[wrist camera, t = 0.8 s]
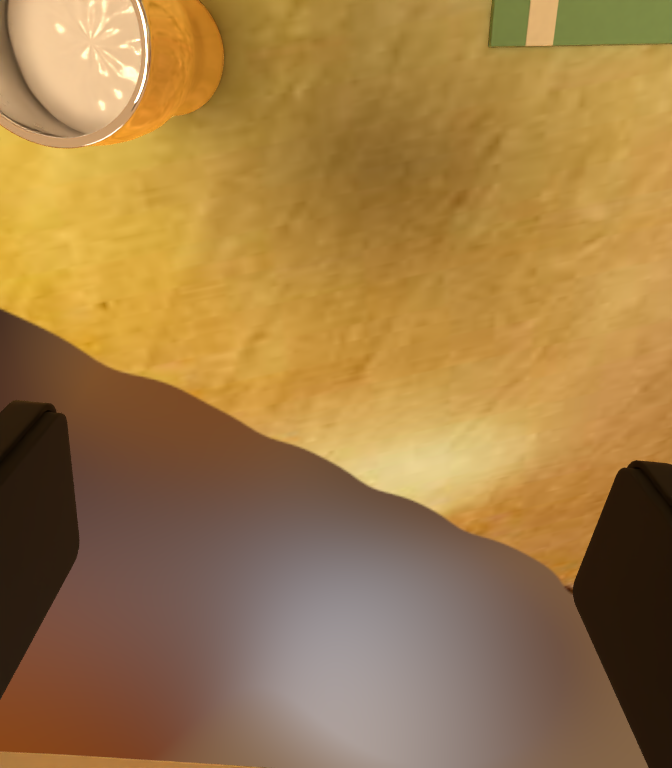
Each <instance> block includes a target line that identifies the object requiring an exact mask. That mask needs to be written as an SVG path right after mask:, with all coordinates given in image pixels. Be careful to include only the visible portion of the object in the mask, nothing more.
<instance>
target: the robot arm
mask: <svg viewBox="0 0 672 768" xmlns="http://www.w3.org/2000/svg"><path fill="white" fill-rule="evenodd" d="M78 549H79V530H78V521H77V512H76V502H75V493H74V483H73V474H72V464H71V455H70V445H69V436H68V427H67V420H66V417H65V415H64V414H62V413H56V409H55V407H54V406H53V405H52V404H49V403H39V402H29V401H19V400H15V401H13V402H11V403H10V404H9V405H7V406H6V407H5V408H4V410H3V411H1V412H0V699H1V697H2V695H3V693H4V692H5V690H6V688H7V686H8V684H9V682H10V680H11V679H12V677H13V675H14V673H15V671H16V669H17V668H18V666H19V664H20V662H21V660H22V658H23V657H24V655H25V653H26V651H27V649H28V647H29V645H30V643H31V642H32V640H33V638H34V636H35V634H36V632H37V631H38V629H39V627H40V625H41V623H42V621H43V620H44V618H45V616H46V614H47V612H48V610H49V608H50V607H51V605H52V603H53V601H54V599H55V597H56V595H57V594H58V592H59V590H60V588H61V586H62V584H63V582H64V581H65V579H66V577H67V575H68V573H69V571H70V570H71V568H72V566H73V564H74V562H75V560H76V557H77V554H78ZM573 597H574V602H575V605H576V607H577V609H578V612H579V614H580V616H581V618H582V620H583V623H584V625H585V627H586V629H587V632H588V634H589V636H590V638H591V640H592V643H593V644H594V647H595V649H596V652H597V654H598V656H599V658H600V660H601V663H602V665H603V667H604V669H605V672H606V674H607V676H608V678H609V680H610V682H611V685H612V687H613V689H614V692H615V694H616V696H617V698H618V700H619V703H620V705H621V707H622V709H623V711H624V714H625V716H626V718H627V720H628V723H629V725H630V727H631V729H632V732H633V734H634V736H635V738H636V740H637V743H638V745H639V747H640V749H641V751H642V754H643V756H644V758H645V760H646V762H647V765H648V767H649V768H672V465H671V464H667V463H658V462H648V461H637V460H636V461H633V462H631V463H630V464H629V465H628V467H627V468H622V469H620V470H619V471H618V473H617V475H616V477H615V480H614V483H613V485H612V488H611V490H610V493H609V495H608V498H607V500H606V503H605V505H604V508H603V510H602V513H601V515H600V518H599V520H598V523H597V526H596V528H595V531H594V533H593V536H592V538H591V541H590V543H589V546H588V548H587V551H586V553H585V556H584V558H583V561H582V564H581V566H580V569H579V571H578V574H577V576H576V579H575V581H574V585H573ZM0 768H265V767H249V766H235V765H234V766H233V765H219V764H203V763H187V762H172V761H156V760H140V759H139V760H138V759H124V758H109V757H93V756H77V755H61V754H39V753H17V752H0Z"/></svg>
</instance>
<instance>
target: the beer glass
mask: <svg viewBox="0 0 672 768" xmlns="http://www.w3.org/2000/svg"><path fill="white" fill-rule="evenodd" d="M223 66H224V50H223V43H222V39H221V36H220V32H219V30H218V27H217V25H216V23H215V21H214V19H213V18H212V16H211V15H210V13H209V12H208V10H207V9H206V8H205V7H204V6H203V4H202V3H201V2H200V1H198V0H0V125H1V126H3V127H4V128H6V129H7V130H9V131H10V132H12V133H14V134H16V135H17V136H19V137H21V138H24V139H26V140H28V141H31V142H34V143H37V144H40V145H44V146H48V147H55V148H79V147H85V146H100V145H111V144H116V143H121V142H126V141H130V140H133V139H136V138H139V137H141V136H143V135H146V134H148V133H150V132H152V131H154V130H156V129H157V128H159V127H160V126H162V125H163V124H164V123H166V122H167V121H168V120H169V119H170V118H171V117H172V116H178V115H184V114H188V113H191V112H193V111H195V110H197V109H199V108H200V107H202V106H203V105H204V104H205V103H206V102H207V101H208V100H209V99H210V98H211V97H212V95H213V94H214V92H215V91H216V89H217V87H218V85H219V82H220V79H221V76H222V72H223Z"/></svg>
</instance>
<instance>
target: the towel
mask: <svg viewBox="0 0 672 768" xmlns="http://www.w3.org/2000/svg"><path fill="white" fill-rule="evenodd" d="M632 44H672V0H492V9H491V20H490V32H489V44H488V47H521V46H577V45H632Z"/></svg>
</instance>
